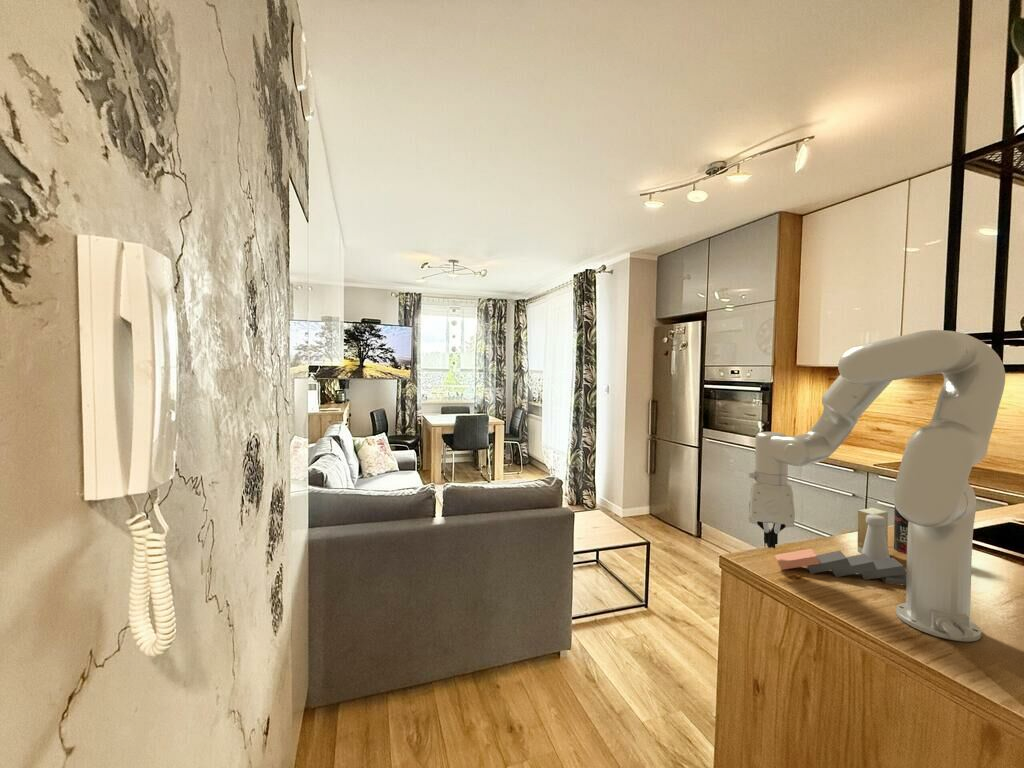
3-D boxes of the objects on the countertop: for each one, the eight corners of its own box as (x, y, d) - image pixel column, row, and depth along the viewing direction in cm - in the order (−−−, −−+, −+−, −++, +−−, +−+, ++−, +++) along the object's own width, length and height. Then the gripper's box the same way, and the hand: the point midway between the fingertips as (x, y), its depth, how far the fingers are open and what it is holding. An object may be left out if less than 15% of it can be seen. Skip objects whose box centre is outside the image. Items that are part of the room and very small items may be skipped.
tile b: (835, 577, 112) (876, 569, 109) (832, 569, 112) (873, 561, 109) (829, 568, 116) (868, 561, 113) (826, 561, 116) (864, 553, 113)
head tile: (781, 569, 116) (819, 563, 113) (778, 562, 116) (816, 556, 113) (777, 562, 121) (814, 555, 117) (774, 554, 121) (811, 548, 118)
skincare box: (871, 548, 129) (872, 507, 128) (888, 554, 125) (889, 511, 124) (856, 551, 127) (856, 509, 126) (872, 557, 123) (873, 514, 122)
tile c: (864, 579, 110) (906, 573, 107) (861, 572, 110) (903, 565, 107) (855, 571, 115) (895, 565, 112) (852, 563, 115) (892, 557, 112)
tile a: (811, 573, 113) (850, 565, 110) (807, 566, 114) (847, 558, 111) (805, 565, 118) (843, 557, 115) (802, 558, 118) (840, 550, 115)
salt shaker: (879, 559, 122) (880, 512, 121) (895, 568, 116) (896, 519, 115) (856, 558, 122) (857, 512, 122) (871, 567, 116) (872, 519, 116)
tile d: (885, 585, 108) (931, 591, 105) (886, 577, 108) (932, 582, 105) (876, 576, 113) (920, 581, 110) (876, 568, 113) (920, 573, 110)
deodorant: (893, 551, 127) (894, 499, 126) (893, 544, 131) (894, 494, 131) (922, 556, 123) (923, 503, 122) (920, 550, 127) (921, 498, 127)
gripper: (741, 479, 117) (741, 547, 118) (807, 484, 112) (806, 555, 113) (738, 473, 124) (737, 537, 125) (800, 477, 119) (799, 544, 120)
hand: (770, 546), depth 119 cm, fingers closed
